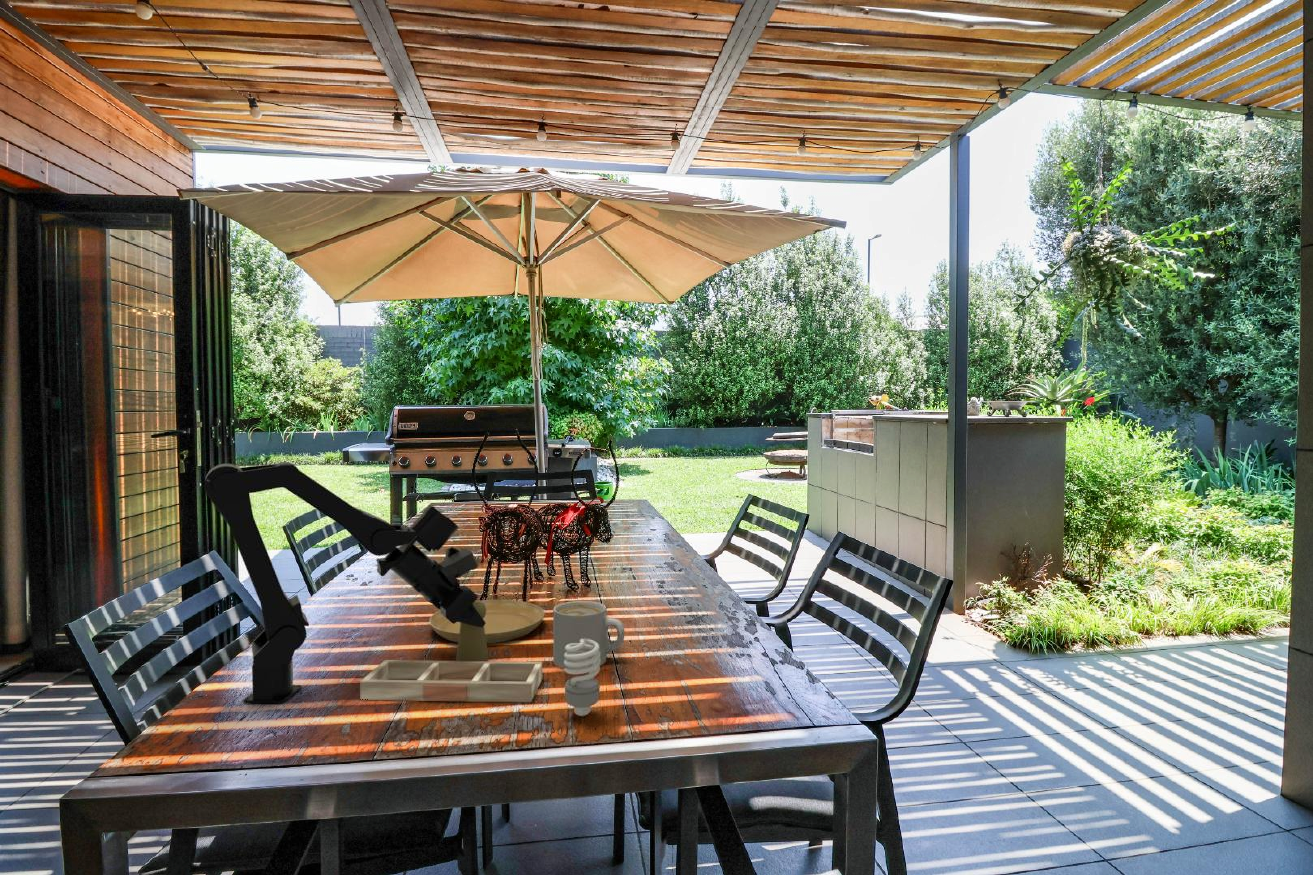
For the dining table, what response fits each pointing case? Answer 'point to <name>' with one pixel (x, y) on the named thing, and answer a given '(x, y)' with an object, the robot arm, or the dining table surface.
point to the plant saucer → (496, 621)
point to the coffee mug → (583, 628)
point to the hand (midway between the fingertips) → (479, 621)
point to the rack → (452, 681)
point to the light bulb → (585, 687)
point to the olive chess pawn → (473, 639)
